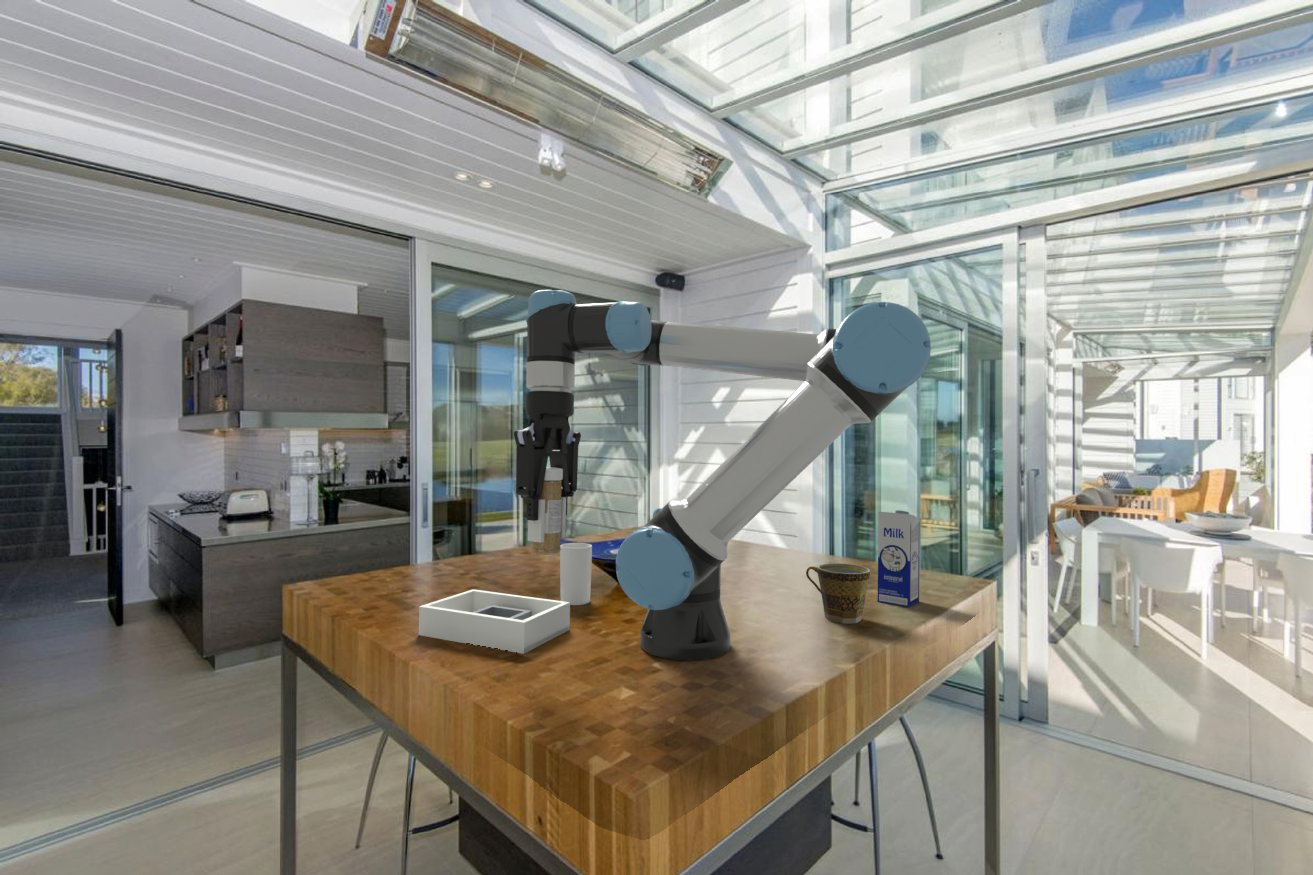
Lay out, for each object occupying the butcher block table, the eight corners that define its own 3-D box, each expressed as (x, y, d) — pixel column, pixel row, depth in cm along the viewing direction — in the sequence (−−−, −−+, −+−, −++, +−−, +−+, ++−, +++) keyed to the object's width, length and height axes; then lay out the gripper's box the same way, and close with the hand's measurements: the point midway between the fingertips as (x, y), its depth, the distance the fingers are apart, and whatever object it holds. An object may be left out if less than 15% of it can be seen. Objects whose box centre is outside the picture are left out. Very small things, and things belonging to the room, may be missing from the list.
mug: (590, 605, 128) (591, 548, 128) (558, 606, 128) (558, 548, 128) (592, 593, 138) (592, 540, 138) (561, 594, 138) (562, 540, 138)
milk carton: (876, 601, 135) (877, 510, 135) (887, 596, 140) (888, 508, 140) (909, 607, 130) (910, 513, 130) (919, 601, 135) (920, 510, 136)
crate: (569, 629, 112) (569, 602, 112) (523, 653, 99) (524, 622, 99) (472, 614, 120) (472, 589, 120) (418, 635, 107) (419, 606, 107)
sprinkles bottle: (526, 552, 97) (528, 467, 97) (550, 549, 100) (552, 466, 100) (541, 556, 94) (543, 468, 94) (566, 553, 97) (568, 468, 97)
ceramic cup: (877, 618, 122) (878, 568, 122) (856, 629, 114) (857, 575, 114) (817, 606, 130) (817, 559, 130) (793, 616, 123) (794, 565, 123)
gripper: (566, 395, 106) (563, 530, 106) (491, 387, 91) (488, 544, 91) (601, 394, 103) (598, 534, 102) (530, 385, 88) (526, 549, 87)
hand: (546, 538), depth 97 cm, fingers closed on sprinkles bottle, 4 cm apart
